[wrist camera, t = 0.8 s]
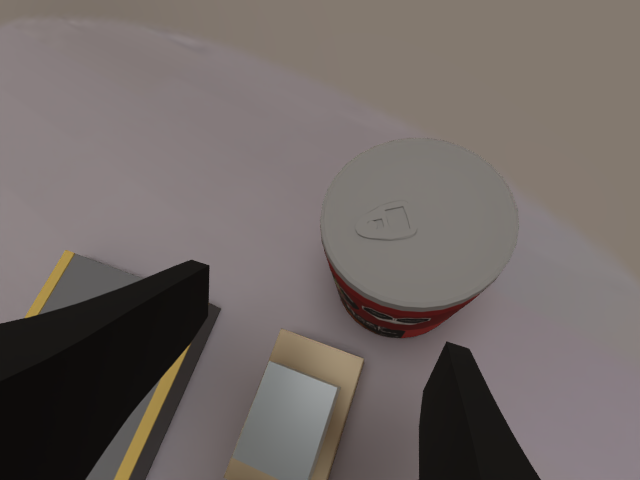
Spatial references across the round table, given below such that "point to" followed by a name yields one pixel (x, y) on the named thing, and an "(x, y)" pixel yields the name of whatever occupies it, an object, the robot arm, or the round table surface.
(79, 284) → the dock
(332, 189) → the canned food
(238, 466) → the pallet
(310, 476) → the grey block
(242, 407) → the round table surface
